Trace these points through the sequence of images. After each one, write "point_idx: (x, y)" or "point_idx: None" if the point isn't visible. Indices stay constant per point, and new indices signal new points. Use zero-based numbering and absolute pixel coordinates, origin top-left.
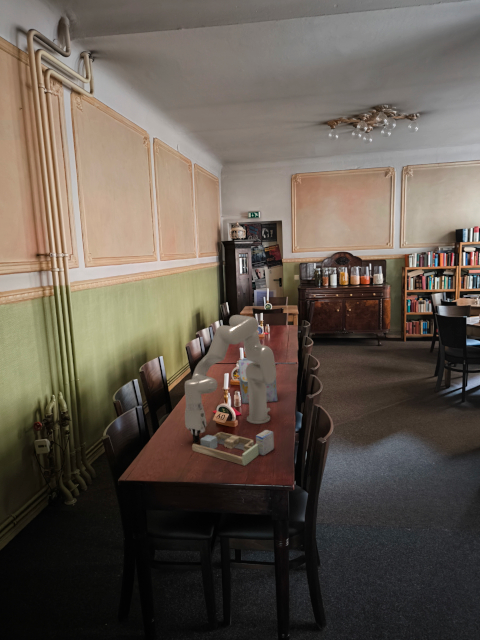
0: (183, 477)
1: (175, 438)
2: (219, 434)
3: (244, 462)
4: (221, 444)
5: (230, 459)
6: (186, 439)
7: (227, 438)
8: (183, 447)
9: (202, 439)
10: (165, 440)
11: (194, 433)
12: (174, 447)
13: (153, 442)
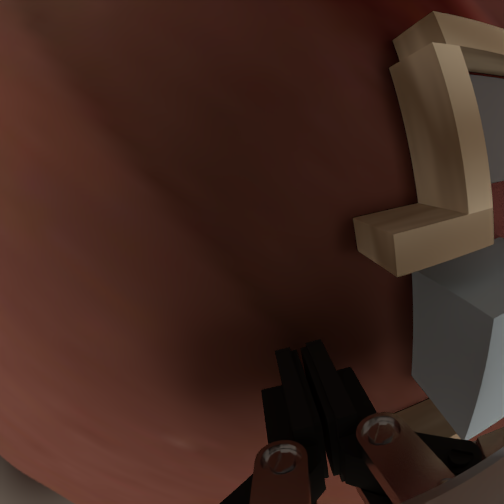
0: None
1: (36, 398)
2: (458, 71)
3: None
4: (502, 179)
5: None
6: (106, 363)
7: (494, 68)
8: (252, 460)
9: (486, 427)
10: (42, 447)
11: (324, 485)
12: (195, 486)
13: (43, 481)
